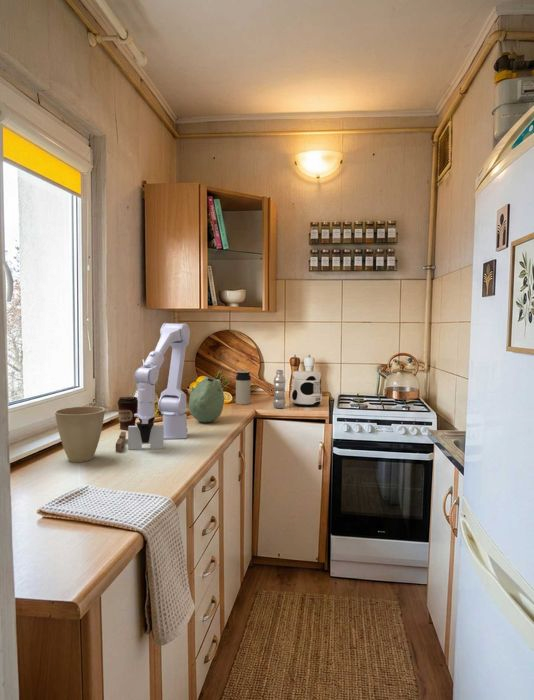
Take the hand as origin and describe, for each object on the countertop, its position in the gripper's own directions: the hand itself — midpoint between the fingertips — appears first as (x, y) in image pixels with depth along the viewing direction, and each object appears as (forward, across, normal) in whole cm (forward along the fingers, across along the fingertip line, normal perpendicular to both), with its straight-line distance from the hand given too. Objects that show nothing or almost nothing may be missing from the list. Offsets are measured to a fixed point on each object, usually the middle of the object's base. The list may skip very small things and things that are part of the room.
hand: (146, 439), depth 167 cm
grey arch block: (+3, 0, 0) cm, 3 cm away
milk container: (+3, -79, +81) cm, 113 cm away
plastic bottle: (+3, -71, +64) cm, 96 cm away
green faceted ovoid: (+3, -41, +24) cm, 48 cm away
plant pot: (+3, +10, -20) cm, 23 cm away
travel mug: (+3, -86, +47) cm, 98 cm away
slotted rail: (+3, -5, -9) cm, 11 cm away
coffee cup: (+3, -32, -9) cm, 33 cm away
